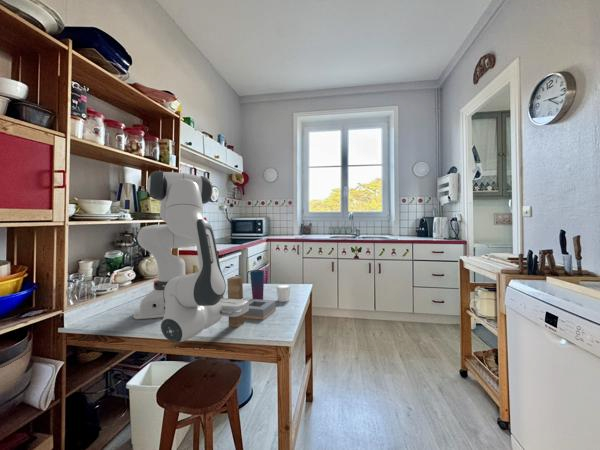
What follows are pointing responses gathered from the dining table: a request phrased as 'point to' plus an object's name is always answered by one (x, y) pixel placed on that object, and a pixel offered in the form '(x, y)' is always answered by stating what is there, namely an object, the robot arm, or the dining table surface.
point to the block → (235, 293)
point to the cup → (257, 283)
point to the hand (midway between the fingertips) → (232, 299)
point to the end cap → (260, 309)
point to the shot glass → (283, 292)
